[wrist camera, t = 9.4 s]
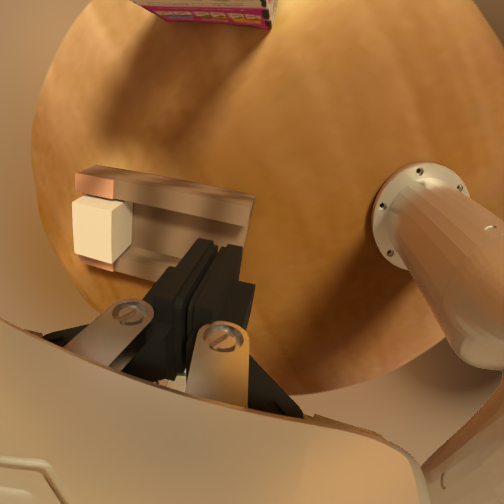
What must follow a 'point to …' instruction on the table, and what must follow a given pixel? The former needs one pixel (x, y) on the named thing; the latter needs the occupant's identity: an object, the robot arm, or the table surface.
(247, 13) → the candy bar box
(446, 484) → the robot arm
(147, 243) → the walnut chute
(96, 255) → the cream block
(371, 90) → the table surface
